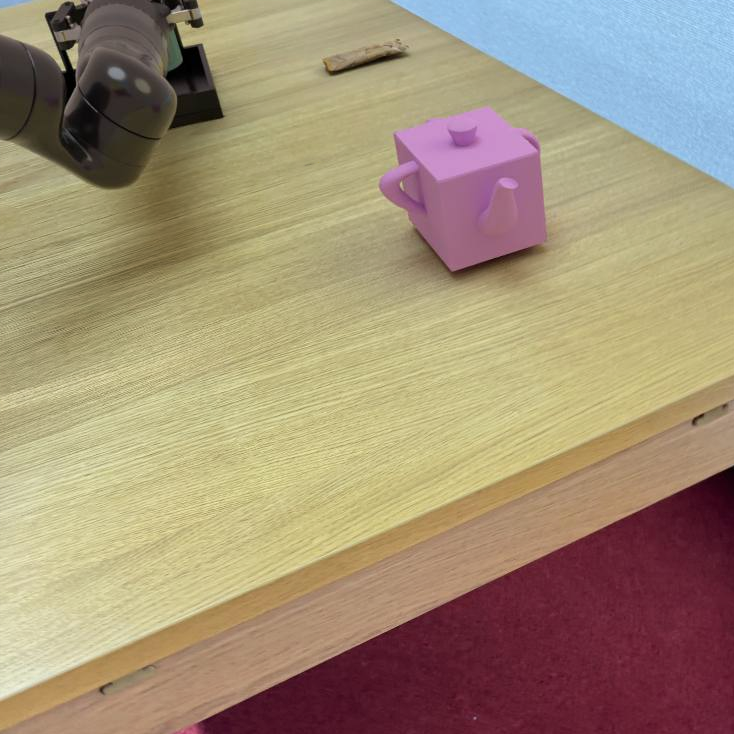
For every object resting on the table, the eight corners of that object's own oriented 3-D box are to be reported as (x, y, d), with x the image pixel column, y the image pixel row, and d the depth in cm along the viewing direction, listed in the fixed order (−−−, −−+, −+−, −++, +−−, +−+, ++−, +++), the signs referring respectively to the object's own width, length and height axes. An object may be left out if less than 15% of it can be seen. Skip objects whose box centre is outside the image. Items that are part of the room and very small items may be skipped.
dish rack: (59, 151, 108) (20, 58, 101) (59, 100, 118) (23, 12, 111) (223, 117, 111) (196, 24, 104) (210, 69, 121) (184, -19, 114)
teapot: (596, 269, 85) (591, 148, 77) (437, 321, 81) (416, 200, 74) (506, 180, 96) (494, 67, 89) (363, 222, 93) (339, 109, 86)
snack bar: (329, 70, 116) (319, 52, 117) (330, 81, 117) (321, 63, 118) (409, 47, 118) (399, 30, 119) (410, 58, 119) (400, 41, 121)
